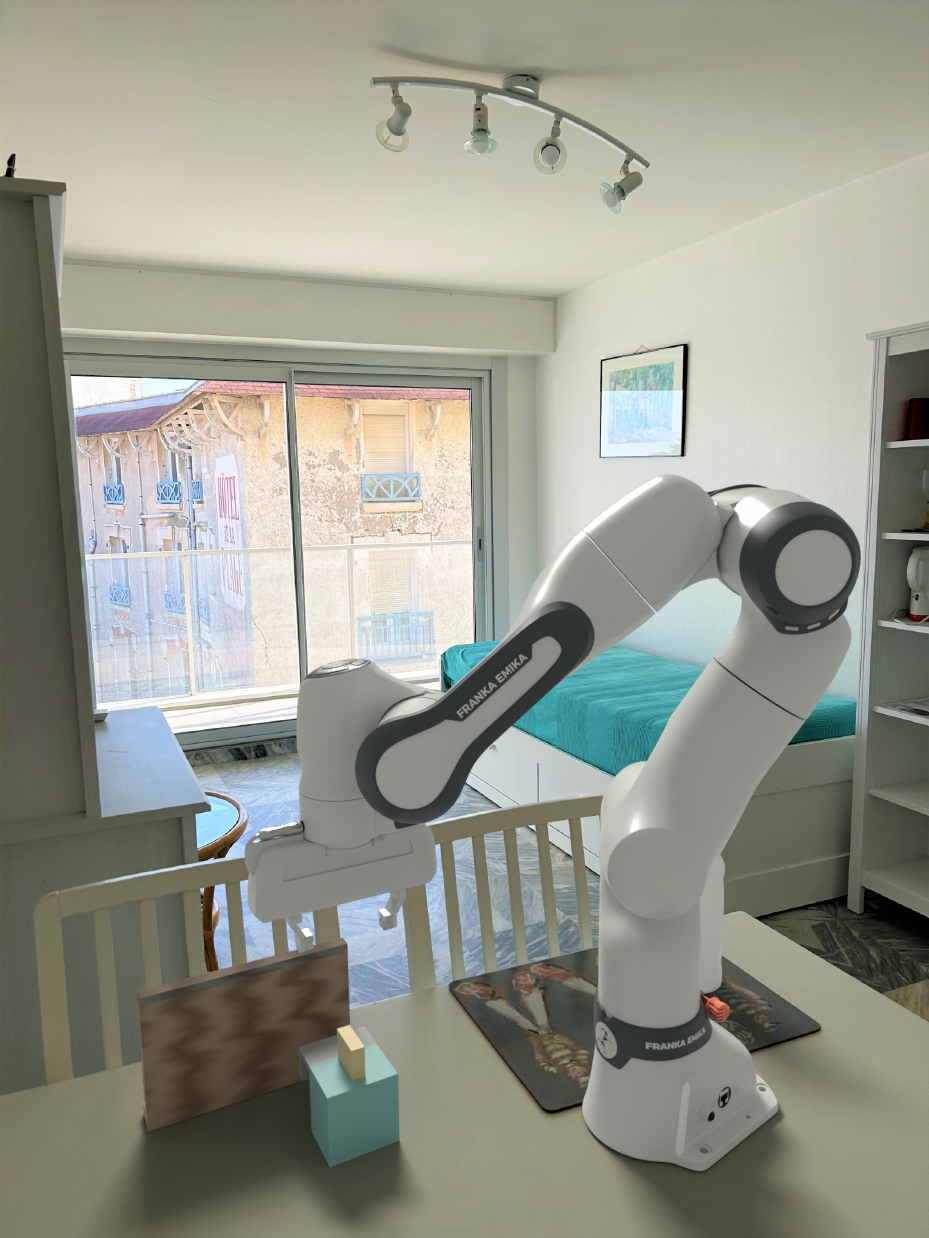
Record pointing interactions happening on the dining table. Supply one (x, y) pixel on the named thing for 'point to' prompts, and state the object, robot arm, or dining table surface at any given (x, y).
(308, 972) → the wall board
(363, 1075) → the key box
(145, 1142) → the dining table surface
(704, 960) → the water bottle
